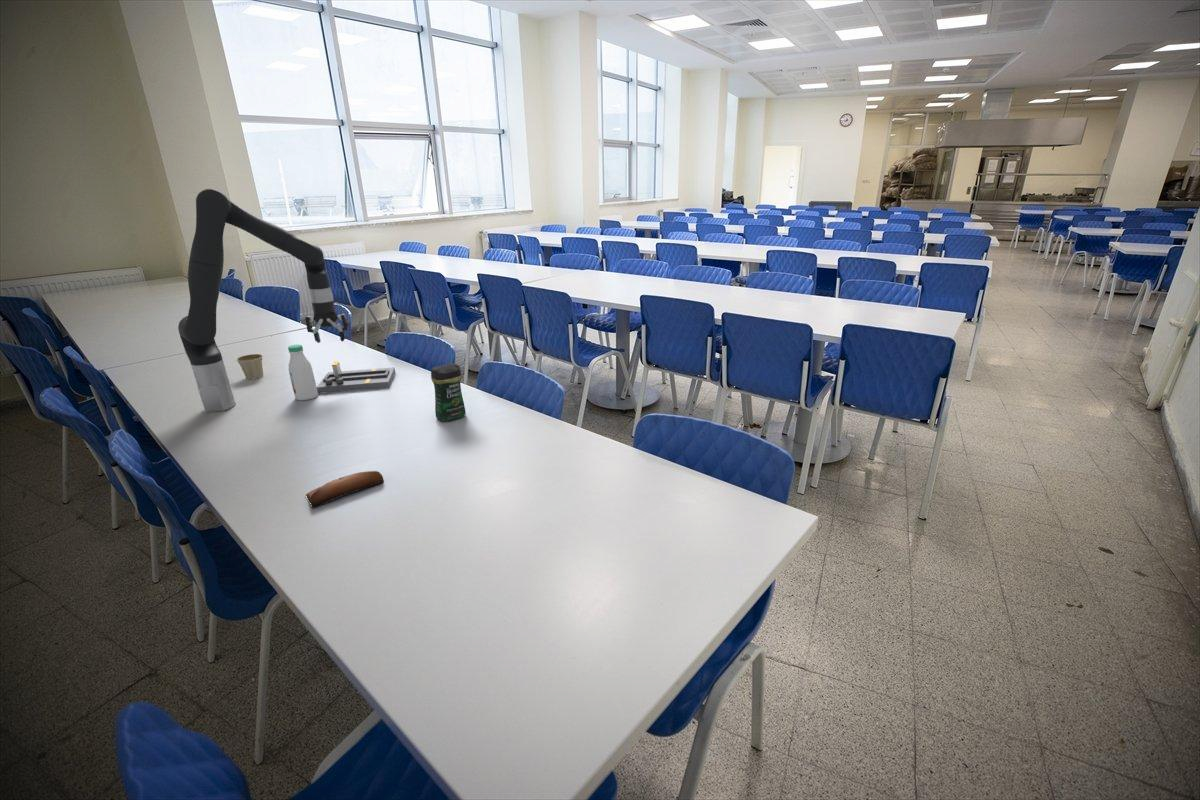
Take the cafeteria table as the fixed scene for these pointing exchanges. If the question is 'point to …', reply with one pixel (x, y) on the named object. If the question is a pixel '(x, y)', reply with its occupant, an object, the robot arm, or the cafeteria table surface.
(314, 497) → the sunglasses case
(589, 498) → the cafeteria table surface
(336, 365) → the fader tab
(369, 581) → the cafeteria table surface
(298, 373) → the milk bottle
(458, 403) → the coffee jar
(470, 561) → the cafeteria table surface
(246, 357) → the flower pot
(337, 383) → the console
